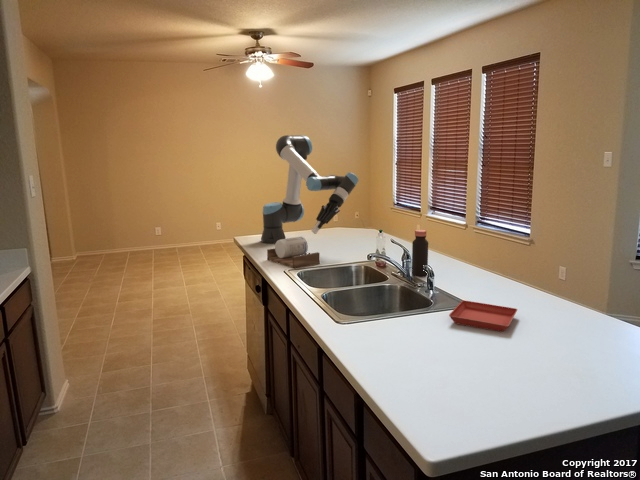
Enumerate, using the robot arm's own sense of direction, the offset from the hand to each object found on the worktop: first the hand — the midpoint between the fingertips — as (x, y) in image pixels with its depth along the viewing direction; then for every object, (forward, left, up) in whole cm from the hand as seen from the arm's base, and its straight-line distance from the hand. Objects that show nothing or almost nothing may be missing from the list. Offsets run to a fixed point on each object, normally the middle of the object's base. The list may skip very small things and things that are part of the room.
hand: (313, 232), depth 244 cm
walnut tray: (+1, -14, -13) cm, 19 cm away
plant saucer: (+109, -14, -14) cm, 111 cm away
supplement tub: (-4, -3, -7) cm, 9 cm away
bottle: (+59, +14, -13) cm, 62 cm away
